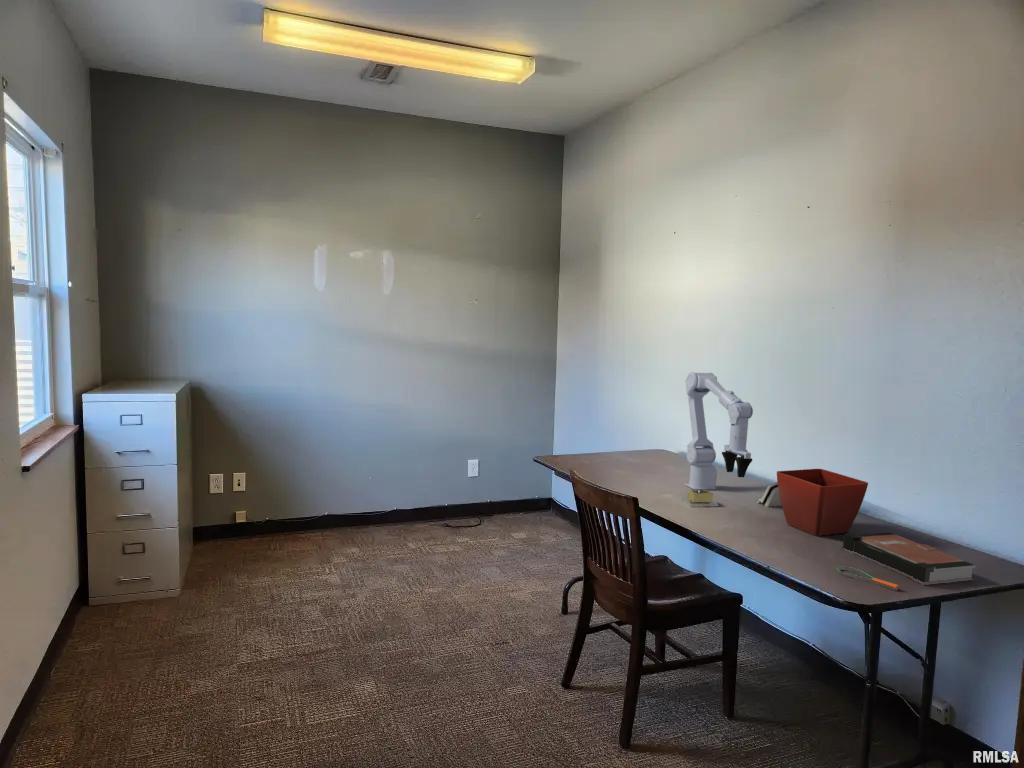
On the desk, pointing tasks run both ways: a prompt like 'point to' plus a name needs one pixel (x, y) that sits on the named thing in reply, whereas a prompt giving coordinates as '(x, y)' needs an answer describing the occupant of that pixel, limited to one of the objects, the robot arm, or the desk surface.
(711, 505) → the keeper plate
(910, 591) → the desk surface
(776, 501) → the grey curved piece
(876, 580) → the green orange wire loop
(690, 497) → the link
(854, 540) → the book
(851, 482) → the plant pot
